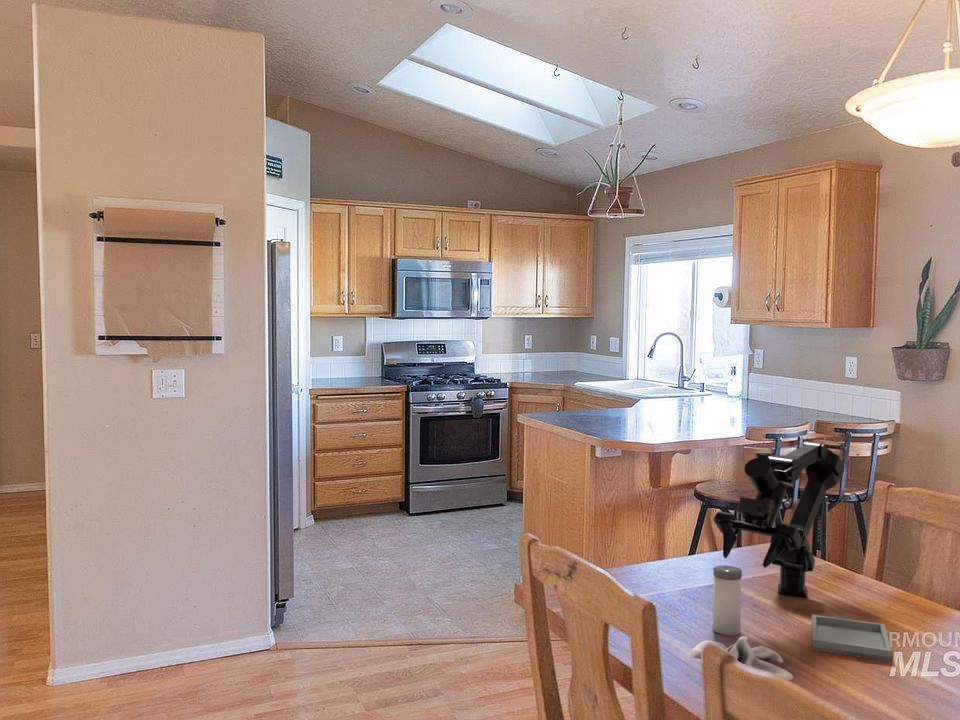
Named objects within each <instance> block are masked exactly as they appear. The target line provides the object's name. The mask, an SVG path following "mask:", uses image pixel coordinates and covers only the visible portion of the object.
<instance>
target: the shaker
mask: <svg viewBox="0 0 960 720" xmlns="http://www.w3.org/2000/svg"><path fill="white" fill-rule="evenodd" d="M712 571H713V572H712V573H713V574H712V575H713V599H712V600H713V602H712V603H713V607H712V611H713V612H712V614H713V615H712V617H713V618H712V619H713V620H712V629H713V632H714V633H716V632H717V633H716V634H719V633H720V634H719V635H722V634H724V635H723V636H727V635H731V637H732V636H738V635H740V634H741V617H742V615H741V612H742V611H741V610H742V606H741V605H742V577H743V571H742V569H740V568H739V567H736V566H733V565H723V564H722V565H717V566H714V567H713V570H712Z"/></svg>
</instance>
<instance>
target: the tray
mask: <svg viewBox="0 0 960 720" xmlns="http://www.w3.org/2000/svg"><path fill="white" fill-rule="evenodd" d="M811 633H812V635H811V636H813V637H812V650H813V651H814V650H817V651H816V652H821V651H824V652H823V653H828V652H831V653H830V654H835V653H836V654H835V655H841V654H844V655H843V656H848V655H853V656H852V657H855V656H859V657H858V658H862V657H866V658H865V659H869V658H872V659H871V660H875V659H878V660H877V661H882V660H884V662H889V661H890V663H892V656H893V653H892V652H893V650H892V647H891V643H890V640H889V636H888V633H887V630H886V626H885V623H879V622H871V621H864V620H859V619H858V620H856V619H848V618H841V617H833V616H826V615H818V614H811Z"/></svg>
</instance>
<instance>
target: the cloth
mask: <svg viewBox="0 0 960 720" xmlns="http://www.w3.org/2000/svg"><path fill="white" fill-rule="evenodd" d="M709 643H712V644H716V645H718V646H720V647H722V648H724V649H726V650H727V651H728V652H731V653H732V654H734V655H735V657H736V658H737V660H738V661H739V662H741V663H743V664H746V665H749V666H751V667H754V668H757V669H760V670H765V671H768V672H771V673H773V674H776V675H779V676H782V677H784V678H786V679H788V680H790V679H792V678H793V677H794V675H793V674H792V673H790V672H789V671H787V670H786V669H783V668H781V667H779V666H777V665H776V664H775V665H774V664H773V663H770V662H774V661H778V662H782V661H783V662H784V660H783V658H782V656H781V655H780V654H779V653H778V652H776V651H775V650H773V649H771V648H769V647H766V646H763V645H760V646H755V647H751V643H750V640H749V638H748V636H741V637H739V638H738V639H737V640H736V642H735V643H734V644H731V645H730V646H728V647H727V646H726V645H725V643H721V642H717V641H713V640H702V641H701V642H700V643H698V644H697V645H696V646H695V647H693V649H692V650H691V651H690V653H689V657H690V658H692V659H701V651H702V648H703V647H704V646H705V645H706V644H709ZM778 662H777V663H778ZM783 662H782V663H783ZM790 681H792V680H790ZM790 681H789V682H790Z"/></svg>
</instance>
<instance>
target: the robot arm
mask: <svg viewBox="0 0 960 720" xmlns="http://www.w3.org/2000/svg"><path fill="white" fill-rule="evenodd" d="M743 470H744V472H745V475H746V476H747V478H748V480H749V482H750V484H751V486H752V487H753V488H754V490H756V491H757V492H756V495H755V498H751V497H745V496H740V497H739V501H738V504H737V510H736V511H737V512H741V513H742V514H741V517H742V519H744V520H745V521H741V520H738V519H737V518H736V516H735V513H731V512H724V511H722V510H721V511H717V512H716V513H715V515H714V517H713V519H712V521H713V522H714V523H715V525H716V527H717V528H718V531H719V532H720V533H722V540H723V543H722V546H723V547H722V556H723V558H724V559H727V558H728V556H729V555H730V554H731V551H732V550H733V547H734V545H735V543H736V541H737V539H738V537H737V535H738V534H739V532H740V531H743V532H748V533H753V534H759V535H761V536H762V535H764V536H768V537H771V542H770V544H769V548H768V549H767V552H766V555H765V557H764V559H763V562H762V568H767V567H768V566H770V565H771V564H772V565H775V566H779V583H777V584H778V585H777V594H782V595H790V596H797V597H805V598H806V597H807V596H808V589H807V586H806V573H808V572H813V571H814V569H815V565H816V563H815V562H816V559H815V557H814V555H813V553H812V551H811V545H810V542H809V541H810V540H809V538H808V537H809V534H810V531H811V529H812V526H813V523H814V521H815V519H816V517H817V515H818V511H819V509H820V507H821V505H822V502H823V499H824V497H825V494H826V493H827V491H828V490H830V489H831V488H834V487H835V486H837V484H838V483H839V480H840V479H841V477H842V476H843V475H844V472H845V465H844V463H843V461H842V459H841V457H840V456H839V455H838V454H836V453H835V452H833V451H832V450H830V449H829V448H828V446H827V445H826V444H824V443H822V442H816V441H815V442H813V441H807V442H806V441H805V442H804V443H802V445H801V446H799V447H798V448H795V449H794V450H792V451H790V452H789V453H786V454H781V455H780V454H778V455H770V456H769V455H768V454H763V453H759V454H758V456H757V457H755V458H752V459H750V460H749V461H748V462H746V463H745V465H744V468H743ZM802 470H805V474H806V477H807V482H806V484H805V487H804V489H803V491H802V493H801V496H800V498H799V500H798V503H797V505H796V507H795V509H794V511H793V514H792V516H791V519H790V521H789V523H787V524H786V523H783V522H779V523H777V524H776V527H774V525H775V521H776V520H779V518H780V514H779V511H780V508H781V506H782V504H783V501H784V500H788V497H789V496H788V495H789V494H788V493H787V489H786V487H785V485H784V484H790V485H792V484H795V483H796V482H797V481H798V480H799V479H800V478H801V471H802ZM783 483H784V484H783Z"/></svg>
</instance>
